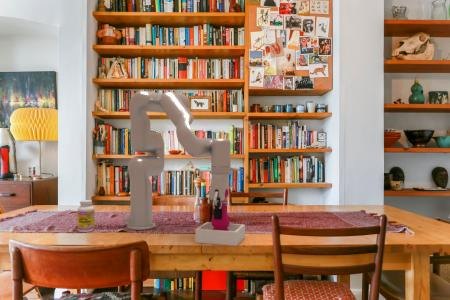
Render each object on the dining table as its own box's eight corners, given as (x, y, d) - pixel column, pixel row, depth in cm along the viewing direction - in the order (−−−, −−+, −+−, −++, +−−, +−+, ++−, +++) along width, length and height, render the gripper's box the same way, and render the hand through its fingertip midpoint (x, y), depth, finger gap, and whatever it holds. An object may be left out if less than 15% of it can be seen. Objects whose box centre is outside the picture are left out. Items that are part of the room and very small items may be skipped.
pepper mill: (227, 236, 135) (228, 183, 135) (209, 235, 137) (209, 182, 137) (231, 232, 143) (231, 181, 142) (213, 230, 144) (213, 180, 144)
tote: (195, 242, 136) (195, 229, 136) (206, 234, 148) (206, 222, 148) (236, 246, 131) (236, 232, 131) (244, 237, 144) (244, 224, 144)
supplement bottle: (76, 233, 150) (75, 202, 149) (79, 229, 156) (79, 199, 156) (93, 232, 151) (93, 201, 151) (95, 228, 157) (95, 199, 157)
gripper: (218, 168, 149) (217, 212, 149) (204, 172, 132) (203, 221, 132) (235, 169, 146) (235, 213, 147) (223, 172, 130) (223, 222, 130)
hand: (220, 216), depth 140 cm, fingers closed on pepper mill, 5 cm apart
